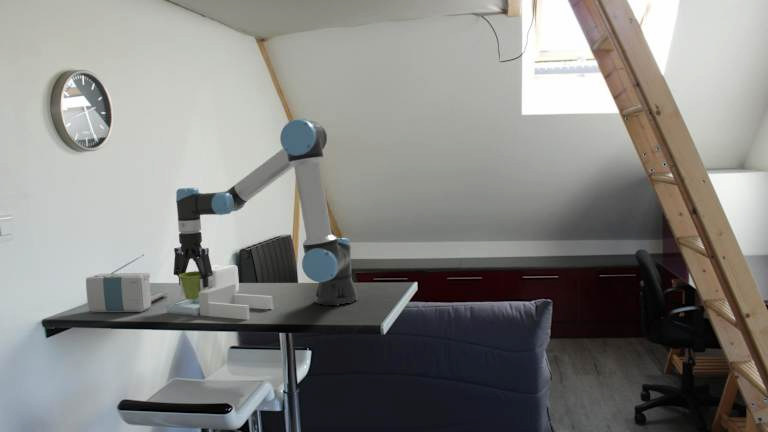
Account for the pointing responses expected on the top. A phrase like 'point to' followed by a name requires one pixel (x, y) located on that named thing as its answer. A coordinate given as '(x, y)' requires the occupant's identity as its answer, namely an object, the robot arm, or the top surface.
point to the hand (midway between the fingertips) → (194, 295)
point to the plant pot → (191, 284)
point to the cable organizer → (223, 276)
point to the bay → (231, 302)
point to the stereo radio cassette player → (118, 292)
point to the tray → (185, 307)
